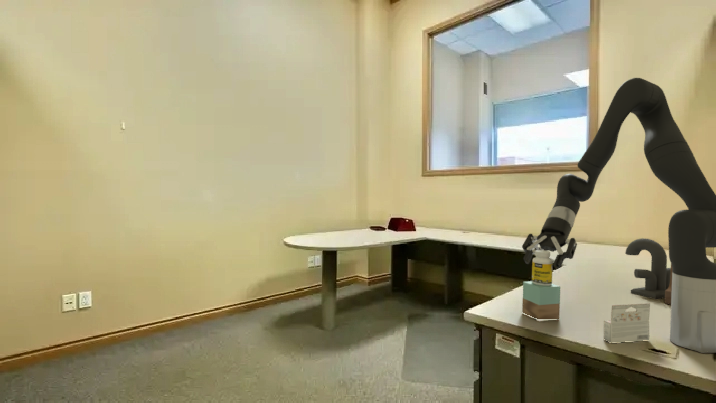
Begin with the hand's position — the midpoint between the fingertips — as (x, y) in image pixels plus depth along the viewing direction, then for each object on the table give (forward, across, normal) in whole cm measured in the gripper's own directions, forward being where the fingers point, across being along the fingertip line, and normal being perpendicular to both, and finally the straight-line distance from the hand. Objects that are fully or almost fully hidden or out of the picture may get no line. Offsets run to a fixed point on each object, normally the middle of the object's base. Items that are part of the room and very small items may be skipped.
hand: (540, 264), depth 109 cm
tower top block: (+7, 0, +8) cm, 11 cm away
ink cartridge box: (+11, +22, +12) cm, 27 cm away
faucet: (-33, +11, +56) cm, 66 cm away
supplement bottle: (+4, 0, +5) cm, 6 cm away
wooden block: (-26, +22, +48) cm, 59 cm away
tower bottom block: (+11, 0, +12) cm, 16 cm away
